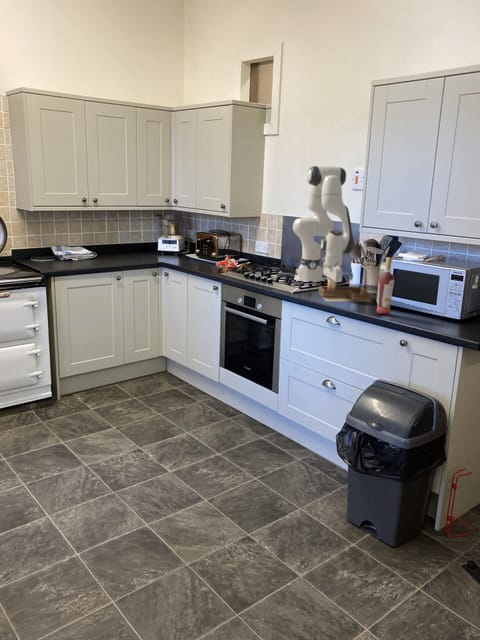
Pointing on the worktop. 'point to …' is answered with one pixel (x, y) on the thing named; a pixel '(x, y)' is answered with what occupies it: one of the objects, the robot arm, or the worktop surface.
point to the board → (339, 299)
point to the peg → (330, 285)
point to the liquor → (385, 289)
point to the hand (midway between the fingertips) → (331, 286)
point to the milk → (382, 270)
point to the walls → (346, 293)
